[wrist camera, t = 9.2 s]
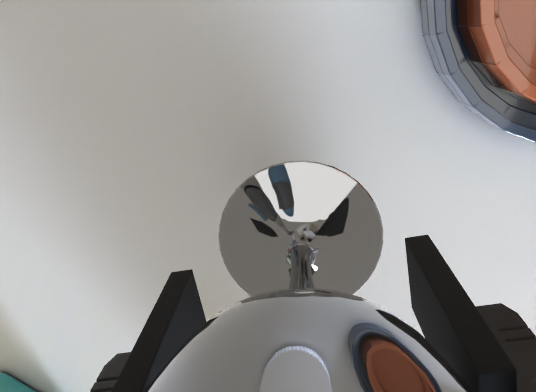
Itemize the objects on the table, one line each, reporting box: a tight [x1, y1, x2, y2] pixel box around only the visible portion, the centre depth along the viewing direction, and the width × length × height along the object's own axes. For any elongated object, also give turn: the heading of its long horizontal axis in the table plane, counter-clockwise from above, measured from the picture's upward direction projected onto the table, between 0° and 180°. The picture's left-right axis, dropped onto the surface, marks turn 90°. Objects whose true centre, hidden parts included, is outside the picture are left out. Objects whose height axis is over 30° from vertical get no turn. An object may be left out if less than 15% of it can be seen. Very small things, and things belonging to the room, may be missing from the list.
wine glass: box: [145, 161, 473, 392], centre depth 13 cm, size 8×8×15 cm
